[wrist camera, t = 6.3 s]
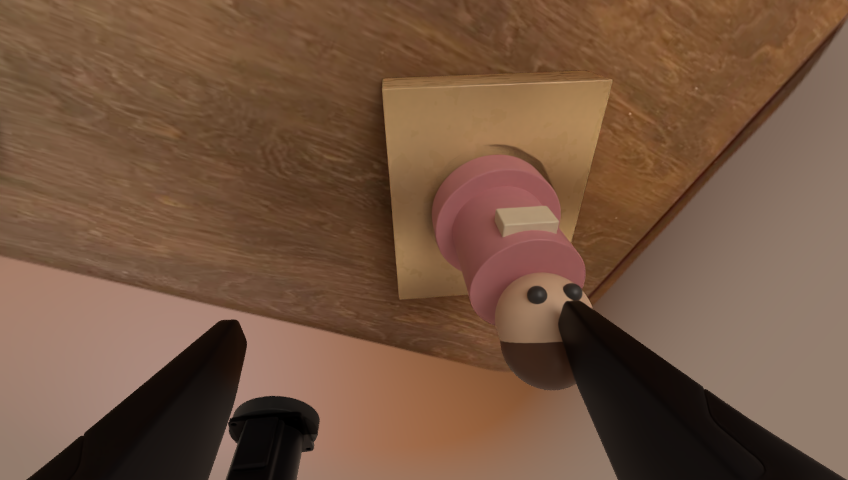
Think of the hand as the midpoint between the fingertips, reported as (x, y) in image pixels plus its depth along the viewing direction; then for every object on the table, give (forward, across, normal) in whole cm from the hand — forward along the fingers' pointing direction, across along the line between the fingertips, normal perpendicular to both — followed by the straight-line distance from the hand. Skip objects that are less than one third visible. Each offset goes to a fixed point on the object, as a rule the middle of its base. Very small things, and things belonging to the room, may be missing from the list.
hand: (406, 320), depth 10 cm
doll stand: (+12, -4, +2) cm, 12 cm away
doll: (+9, -5, +2) cm, 10 cm away
